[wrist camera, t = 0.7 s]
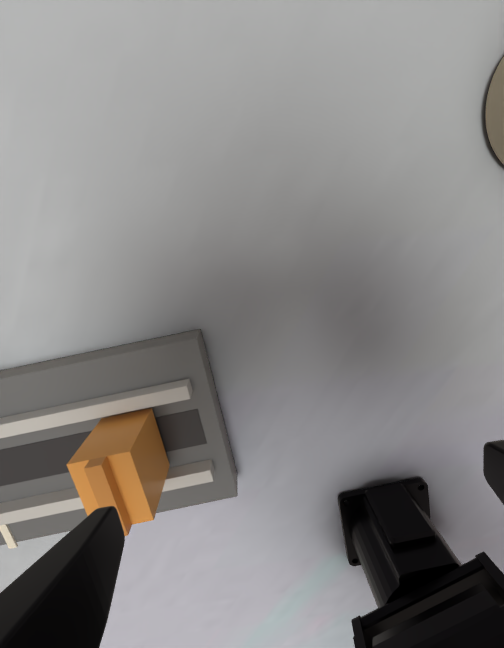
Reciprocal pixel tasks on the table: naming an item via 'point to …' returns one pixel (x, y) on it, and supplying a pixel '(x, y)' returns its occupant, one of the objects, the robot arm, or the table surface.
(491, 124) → the travel mug
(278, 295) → the table surface
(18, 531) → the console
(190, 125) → the table surface
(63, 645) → the robot arm
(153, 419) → the fader cap
